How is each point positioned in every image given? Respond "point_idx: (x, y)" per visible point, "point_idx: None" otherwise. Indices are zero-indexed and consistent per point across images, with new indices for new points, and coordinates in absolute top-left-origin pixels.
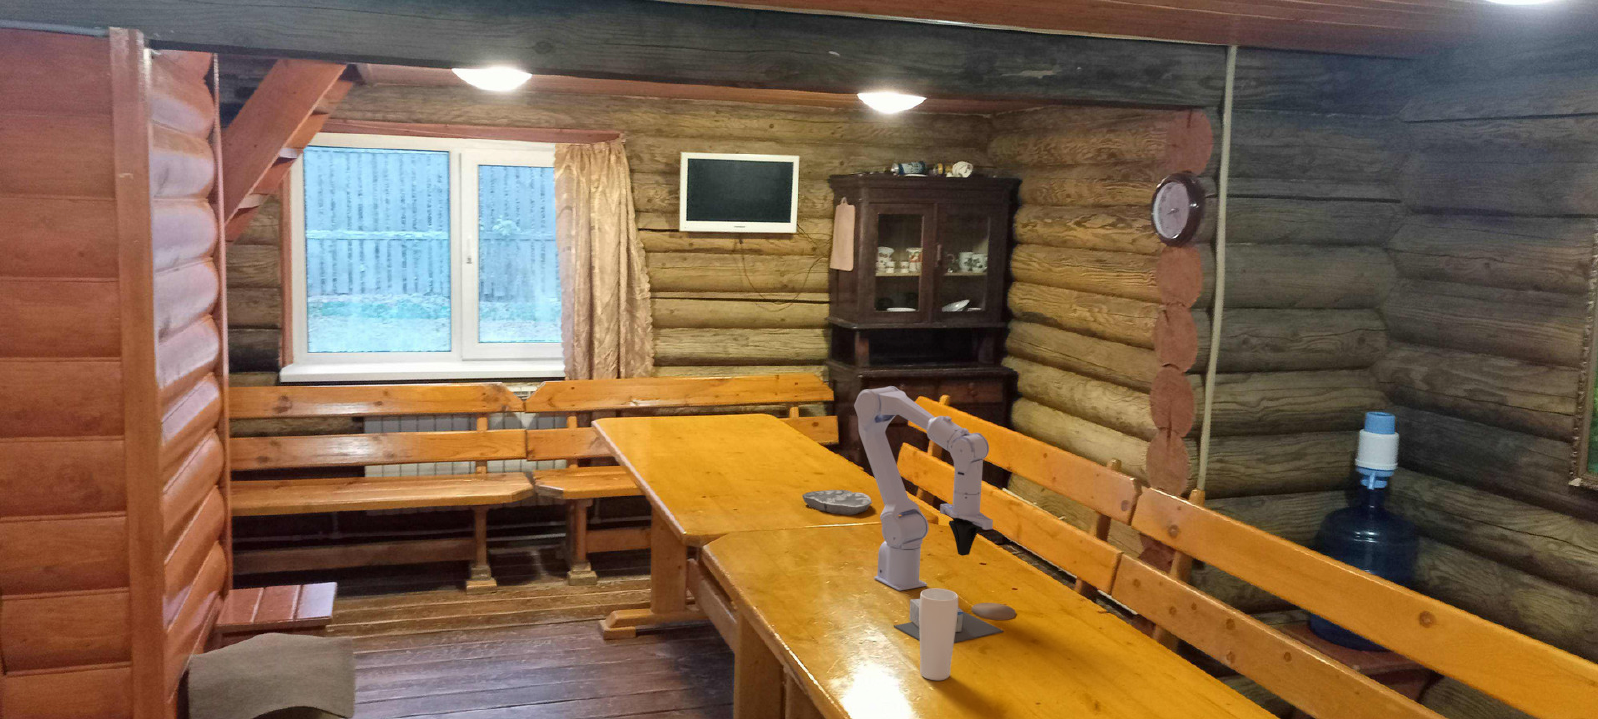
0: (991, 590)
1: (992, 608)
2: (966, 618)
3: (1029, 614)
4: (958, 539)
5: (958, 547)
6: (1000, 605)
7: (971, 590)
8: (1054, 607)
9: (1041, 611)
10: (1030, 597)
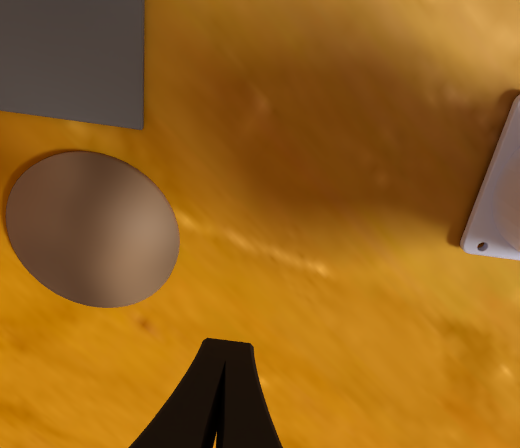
0: (269, 382)
1: (109, 248)
2: (64, 70)
3: (25, 312)
4: (223, 439)
5: (232, 375)
6: (121, 293)
7: (311, 337)
8: (49, 408)
9: (34, 359)
10: (152, 419)
